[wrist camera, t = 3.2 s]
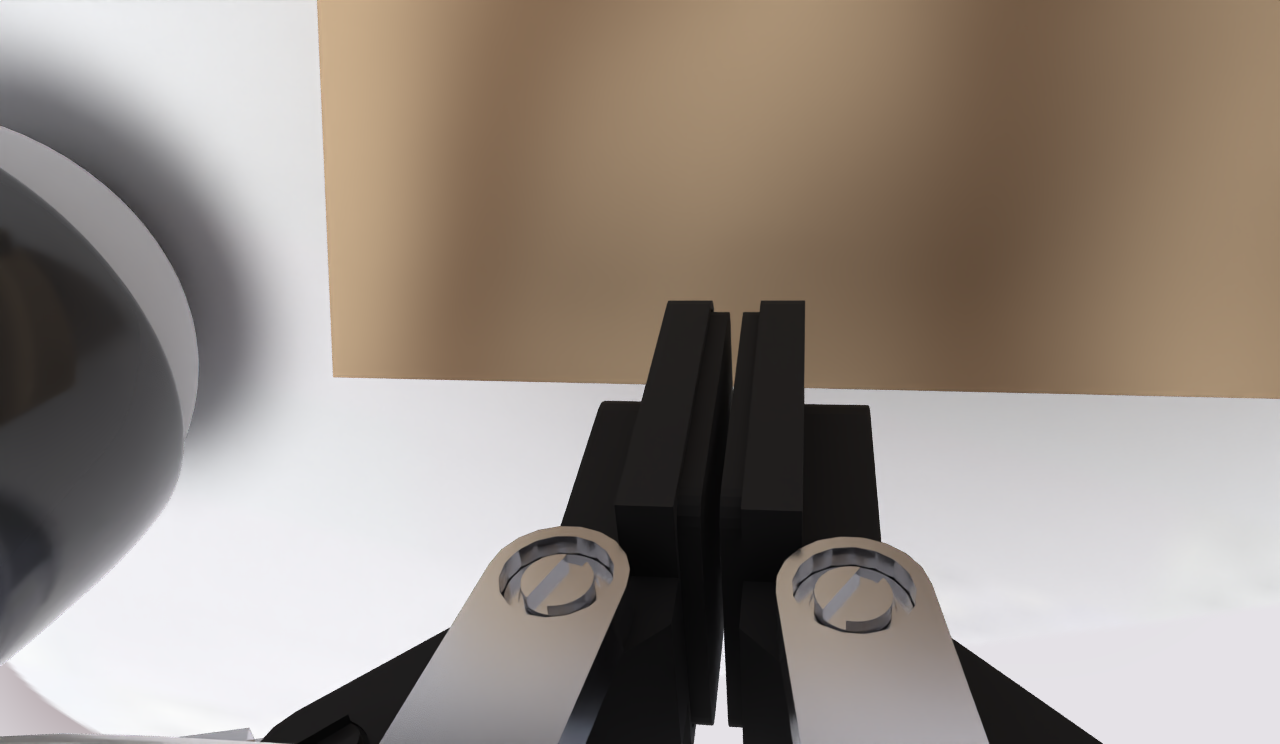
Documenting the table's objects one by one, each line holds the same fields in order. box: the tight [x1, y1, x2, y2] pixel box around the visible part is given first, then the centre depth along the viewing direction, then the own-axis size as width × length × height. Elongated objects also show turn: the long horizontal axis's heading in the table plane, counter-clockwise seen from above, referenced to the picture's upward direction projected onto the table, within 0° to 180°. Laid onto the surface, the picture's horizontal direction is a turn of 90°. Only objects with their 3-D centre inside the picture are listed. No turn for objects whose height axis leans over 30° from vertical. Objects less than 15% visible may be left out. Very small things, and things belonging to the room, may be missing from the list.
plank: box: [317, 0, 1280, 399], centre depth 14 cm, size 22×8×1 cm, turn 94°
